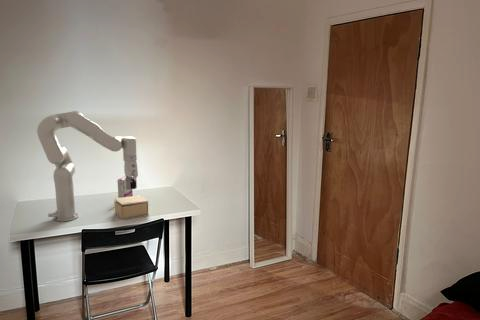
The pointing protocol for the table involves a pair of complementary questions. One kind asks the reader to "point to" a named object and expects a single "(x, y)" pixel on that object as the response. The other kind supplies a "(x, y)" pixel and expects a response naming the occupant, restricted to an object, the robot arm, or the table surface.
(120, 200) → the box lid
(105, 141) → the robot arm
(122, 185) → the candy bar box
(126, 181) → the grey rounded blob
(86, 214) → the table surface
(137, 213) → the cardboard box
